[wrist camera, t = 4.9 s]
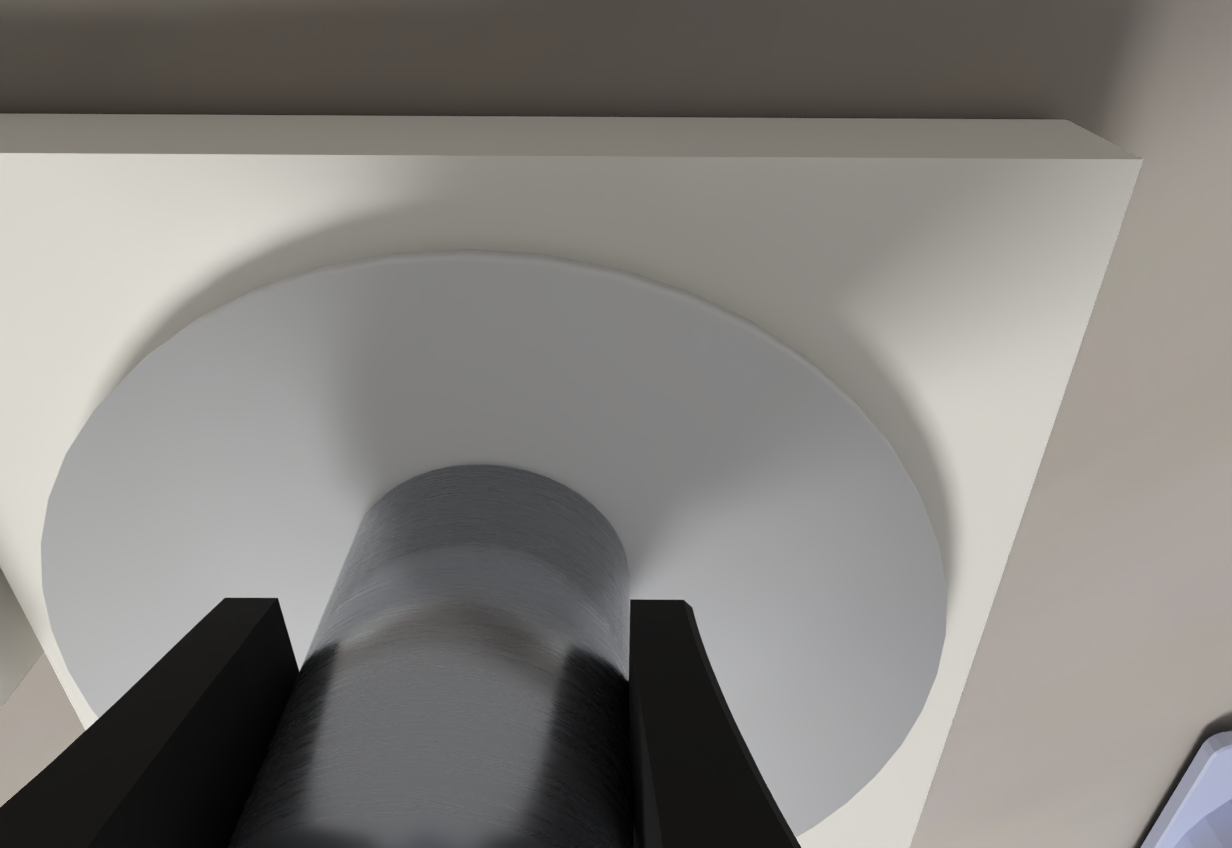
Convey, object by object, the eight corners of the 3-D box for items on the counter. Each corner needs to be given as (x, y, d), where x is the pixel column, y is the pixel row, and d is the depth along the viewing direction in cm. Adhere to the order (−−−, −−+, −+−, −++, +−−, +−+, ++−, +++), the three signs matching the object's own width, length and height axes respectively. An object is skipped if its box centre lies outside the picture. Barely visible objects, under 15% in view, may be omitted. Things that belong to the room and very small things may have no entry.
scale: (1067, 119, 12) (1250, 214, 8) (870, 808, 20) (921, 992, 17) (-379, 111, 12) (-790, 204, 8) (43, 805, 20) (-72, 990, 17)
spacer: (620, 456, 11) (622, 805, 7) (636, 666, 13) (645, 1032, 9) (320, 472, 11) (138, 824, 7) (384, 677, 13) (275, 1042, 9)
